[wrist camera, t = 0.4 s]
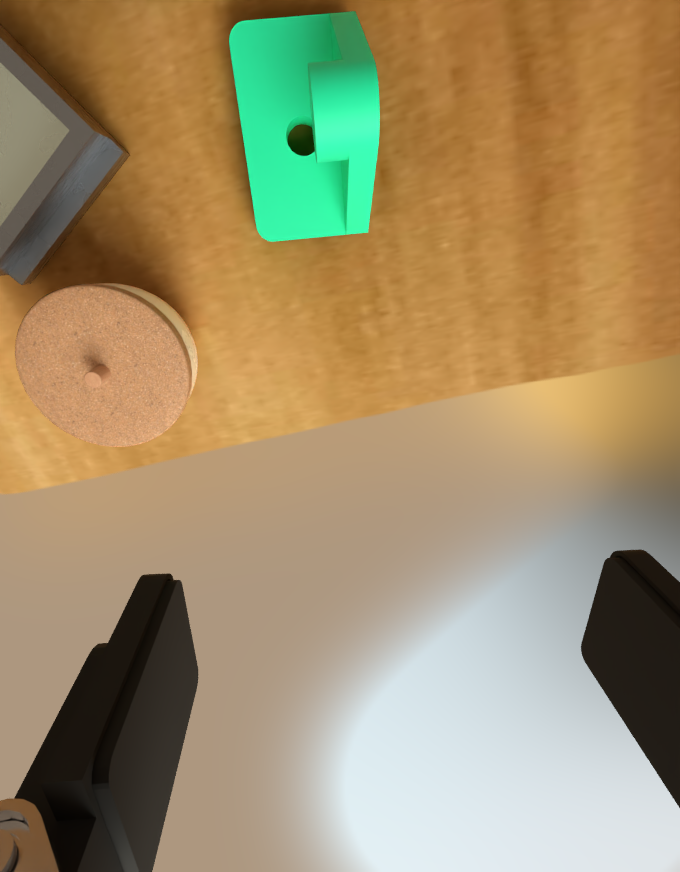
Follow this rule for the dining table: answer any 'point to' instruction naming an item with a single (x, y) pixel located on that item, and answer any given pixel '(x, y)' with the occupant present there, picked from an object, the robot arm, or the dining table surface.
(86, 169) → the pocket plate
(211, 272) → the dining table surface
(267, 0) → the dining table surface
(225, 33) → the dining table surface
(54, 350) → the lidded jar
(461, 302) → the dining table surface
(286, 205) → the camera mount
